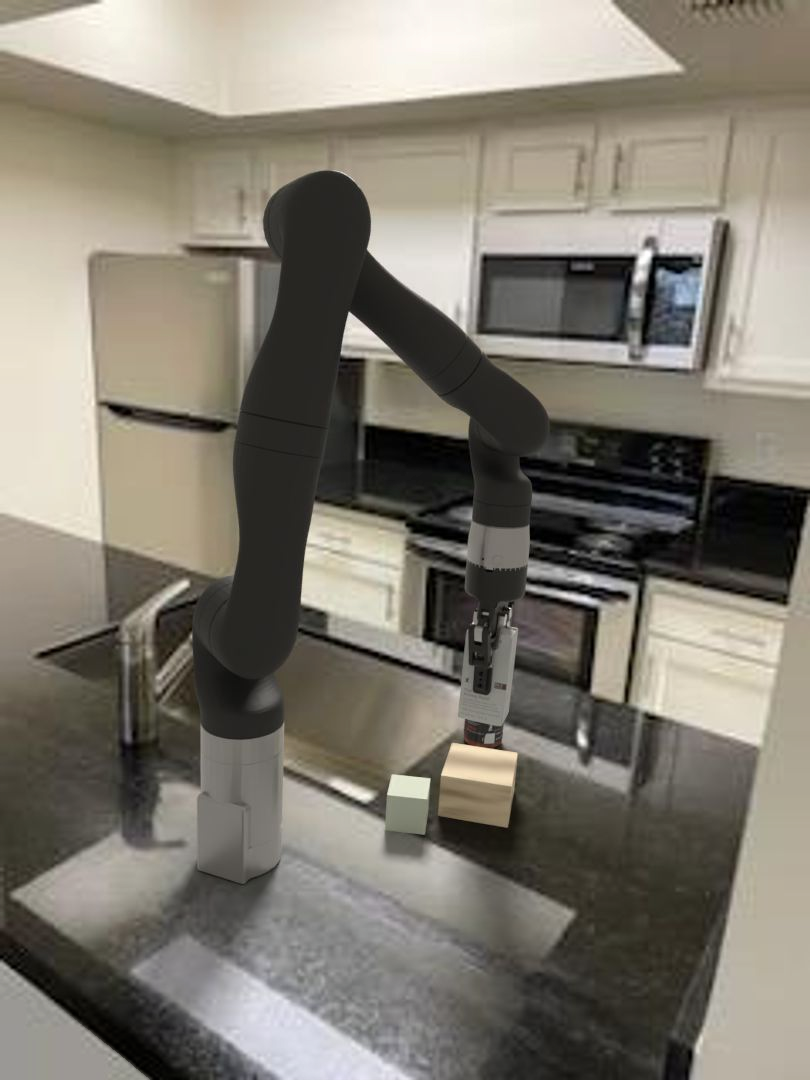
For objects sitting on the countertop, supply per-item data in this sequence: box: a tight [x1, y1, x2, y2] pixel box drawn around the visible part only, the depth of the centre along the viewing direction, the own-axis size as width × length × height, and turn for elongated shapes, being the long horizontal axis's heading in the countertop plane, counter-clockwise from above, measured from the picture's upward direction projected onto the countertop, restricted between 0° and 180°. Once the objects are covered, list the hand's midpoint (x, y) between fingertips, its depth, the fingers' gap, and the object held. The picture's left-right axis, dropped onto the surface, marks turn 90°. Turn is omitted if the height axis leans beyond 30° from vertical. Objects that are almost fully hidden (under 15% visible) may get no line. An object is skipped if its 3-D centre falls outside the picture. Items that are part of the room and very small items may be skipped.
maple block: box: [437, 742, 518, 828], centre depth 111 cm, size 9×9×6 cm
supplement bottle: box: [463, 719, 505, 749], centre depth 127 cm, size 6×6×11 cm
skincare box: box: [457, 621, 519, 726], centre depth 107 cm, size 6×4×12 cm
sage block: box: [384, 773, 431, 836], centre depth 106 cm, size 5×5×5 cm
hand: (486, 685), depth 107 cm, fingers closed on skincare box, 4 cm apart
